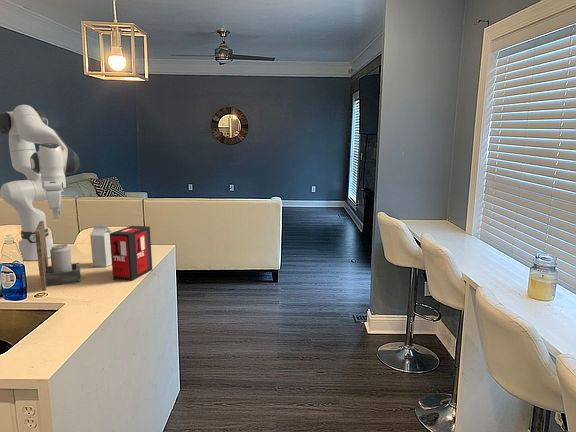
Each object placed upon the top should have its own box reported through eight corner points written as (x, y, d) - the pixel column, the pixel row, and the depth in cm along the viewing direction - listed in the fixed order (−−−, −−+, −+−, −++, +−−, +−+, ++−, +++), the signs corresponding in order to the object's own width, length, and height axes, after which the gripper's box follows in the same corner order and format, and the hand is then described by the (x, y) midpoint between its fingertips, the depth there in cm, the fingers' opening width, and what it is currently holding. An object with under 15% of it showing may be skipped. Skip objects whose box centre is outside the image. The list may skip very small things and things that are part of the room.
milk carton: (106, 267, 212) (103, 227, 209) (92, 266, 214) (89, 226, 210) (115, 263, 219) (112, 224, 216) (101, 262, 220) (98, 223, 217)
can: (65, 276, 190) (62, 248, 187) (48, 275, 191) (45, 247, 188) (75, 270, 197) (73, 243, 195) (60, 270, 198) (57, 243, 196)
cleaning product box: (134, 268, 210) (131, 225, 206) (152, 269, 208) (149, 226, 204) (113, 279, 194) (109, 233, 191) (131, 281, 192) (128, 234, 189)
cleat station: (45, 274, 202) (39, 220, 198) (80, 270, 208) (75, 218, 203) (41, 291, 181) (34, 231, 176) (80, 286, 186) (74, 228, 182)
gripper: (47, 181, 195) (50, 213, 198) (43, 186, 177) (46, 221, 179) (63, 180, 198) (66, 212, 200) (61, 185, 179) (64, 220, 182)
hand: (57, 216), depth 190 cm, fingers open, 8 cm apart
